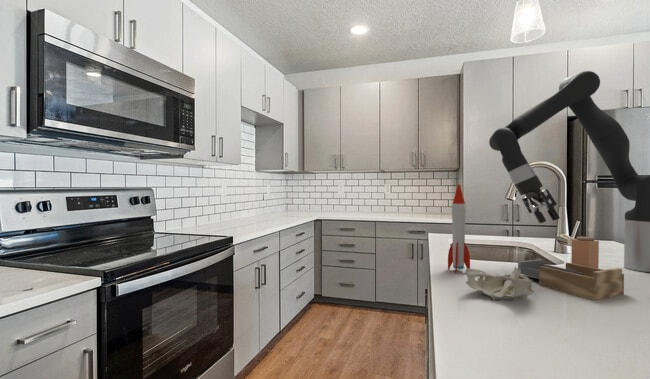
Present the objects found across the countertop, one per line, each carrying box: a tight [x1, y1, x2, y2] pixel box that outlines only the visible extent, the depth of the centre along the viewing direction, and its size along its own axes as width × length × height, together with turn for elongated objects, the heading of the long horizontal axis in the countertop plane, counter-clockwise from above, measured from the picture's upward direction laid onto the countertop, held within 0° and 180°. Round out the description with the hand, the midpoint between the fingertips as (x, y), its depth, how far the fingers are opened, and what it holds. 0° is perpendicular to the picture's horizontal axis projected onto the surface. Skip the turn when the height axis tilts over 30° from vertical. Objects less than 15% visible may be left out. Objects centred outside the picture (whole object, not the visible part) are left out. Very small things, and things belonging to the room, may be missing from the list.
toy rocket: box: [447, 183, 471, 274], centre depth 115 cm, size 6×6×30 cm
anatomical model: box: [465, 266, 534, 301], centre depth 90 cm, size 15×9×25 cm
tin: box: [571, 236, 600, 269], centre depth 107 cm, size 5×5×13 cm
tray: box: [517, 258, 582, 280], centre depth 103 cm, size 10×13×4 cm
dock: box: [538, 262, 625, 301], centre depth 95 cm, size 13×14×7 cm
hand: (549, 221), depth 114 cm, fingers open, 8 cm apart
